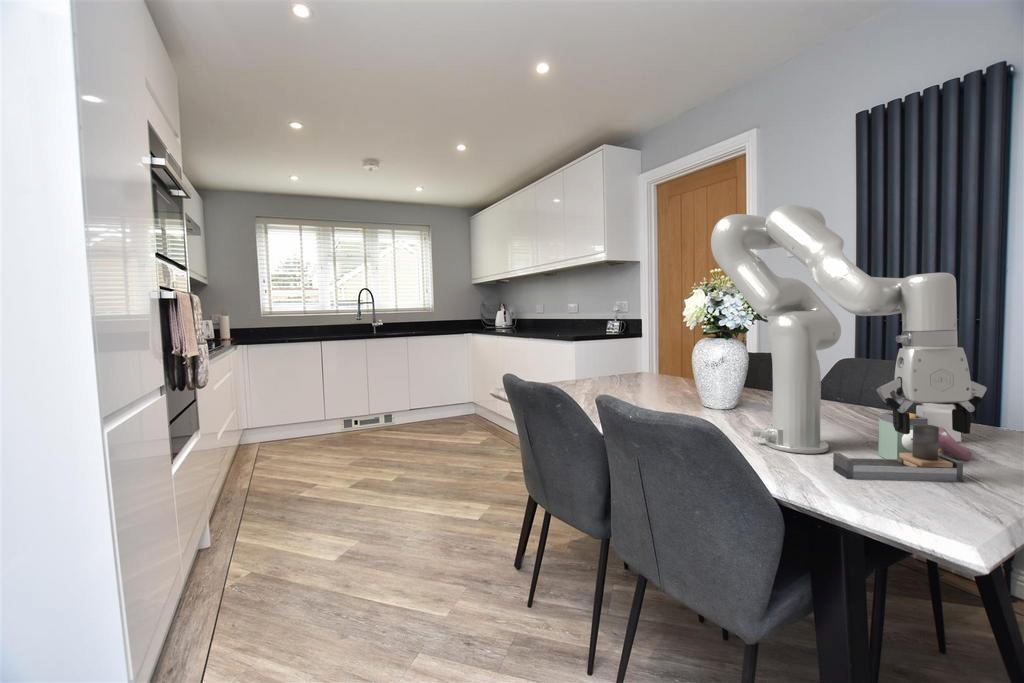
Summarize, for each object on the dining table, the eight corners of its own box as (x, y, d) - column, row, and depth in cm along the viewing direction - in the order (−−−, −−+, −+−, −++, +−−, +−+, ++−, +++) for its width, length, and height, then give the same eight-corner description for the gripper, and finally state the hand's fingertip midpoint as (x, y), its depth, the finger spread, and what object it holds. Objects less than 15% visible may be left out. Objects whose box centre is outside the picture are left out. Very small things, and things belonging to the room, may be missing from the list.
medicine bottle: (962, 443, 107) (963, 391, 106) (921, 439, 111) (922, 390, 110) (953, 435, 113) (954, 387, 112) (915, 432, 117) (916, 385, 116)
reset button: (900, 423, 94) (900, 415, 94) (888, 419, 98) (888, 411, 98) (920, 423, 94) (920, 415, 94) (907, 419, 97) (908, 411, 97)
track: (847, 478, 87) (847, 460, 86) (833, 470, 91) (833, 452, 91) (962, 481, 84) (963, 462, 83) (941, 472, 88) (942, 454, 88)
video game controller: (931, 453, 105) (914, 425, 106) (955, 446, 103) (937, 418, 104) (949, 467, 96) (930, 436, 97) (975, 459, 94) (956, 428, 95)
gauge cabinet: (898, 465, 93) (899, 419, 93) (878, 455, 100) (879, 412, 99) (932, 466, 92) (933, 419, 92) (909, 456, 99) (910, 412, 98)
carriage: (921, 472, 84) (922, 430, 84) (899, 461, 90) (899, 422, 90) (952, 472, 83) (953, 430, 83) (928, 462, 89) (929, 422, 89)
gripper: (890, 343, 83) (892, 437, 83) (1001, 339, 80) (1003, 436, 80) (865, 341, 90) (867, 428, 91) (966, 338, 87) (968, 427, 88)
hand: (931, 432), depth 85 cm, fingers open, 9 cm apart
